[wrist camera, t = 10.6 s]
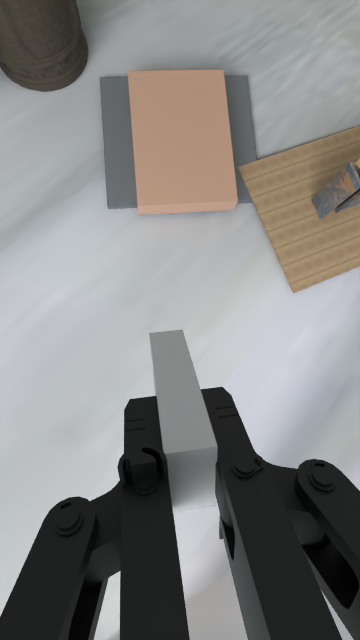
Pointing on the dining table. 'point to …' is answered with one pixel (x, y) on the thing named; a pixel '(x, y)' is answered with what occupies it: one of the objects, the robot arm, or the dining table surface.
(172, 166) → the tile
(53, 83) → the beer stein
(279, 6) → the dining table surface
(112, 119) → the mat
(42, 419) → the dining table surface
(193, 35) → the dining table surface
